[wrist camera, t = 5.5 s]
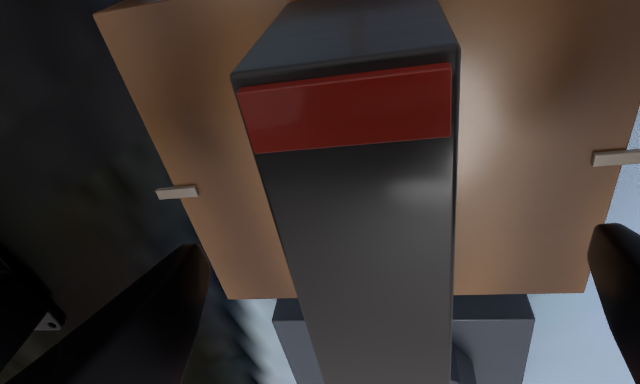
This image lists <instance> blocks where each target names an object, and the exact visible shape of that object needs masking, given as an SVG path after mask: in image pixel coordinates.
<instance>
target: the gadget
mask: <svg viewBox="0 0 640 384" xmlns="http://www.w3.org/2000/svg"><path fill="white" fill-rule="evenodd" d="M460 72H461V47H460V45H459V43H458V41H457V39H456V36H455V34H454V32H453V30H452V28H451V26H450V24H449V22H448V20H447V18H446V16H445V14H444V12H443V10H442V7H441V5H440V3H439V1H438V0H302V1H296V2H289V3H288V4H286V6H285V7H284V8H283V9H282V11H281V12H280V13H279V14H278V15H277V17H276V18H275V19H274V20H273V22H272V23H271V24H270V25H269V27H268V28H267V29H266V30H265V31H264V33H263V34H262V35H261V36H260V38H259V39H258V40H257V41H256V43H255V44H254V45H253V46H252V48H251V49H250V50H249V51H248V52H247V54H246V55H245V56H244V57H243V59H242V60H241V61H240V62H239V64H238V65H237V66H236V67H235V68H234V70H233V71H232V72H231V73H230V81H231V84H232V87H233V91H234V94H235V97H236V100H237V103H238V107H239V110H240V113H241V116H242V120H243V123H244V126H245V129H246V133H247V136H248V139H249V142H250V146H251V149H252V152H253V155H254V158H255V162H256V165H257V168H258V171H259V175H260V178H261V181H262V184H263V188H264V191H265V194H266V197H267V200H268V204H269V207H270V210H271V213H272V217H273V220H274V223H275V226H276V230H277V233H278V236H279V239H280V243H281V246H282V249H283V252H284V255H285V259H286V262H287V265H288V268H289V272H290V275H291V278H292V281H293V285H294V288H295V291H296V294H297V298H298V301H299V304H300V307H301V310H302V314H303V317H304V320H305V323H306V327H307V330H308V333H309V336H310V340H311V343H312V346H313V349H314V352H315V356H316V359H317V362H318V365H319V369H320V372H321V375H322V378H323V382H324V384H451V352H452V321H453V290H454V259H455V228H456V196H457V165H458V134H459V103H460Z"/></svg>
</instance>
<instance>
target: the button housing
mask: <svg viewBox="0 0 640 384" xmlns="http://www.w3.org/2000/svg"><path fill="white" fill-rule="evenodd" d="M534 322H535V317H534V314H533V311H532V308H531V306H530V303H529V300H528V297H527V294H491V295H453V321H452V352H451V384H522V381H523V376H524V371H525V367H526V362H527V357H528V352H529V347H530V342H531V337H532V332H533V327H534ZM272 323H273V325H274V328H275V330H276V333H277V335H278V338H279V340H280V343H281V345H282V348H283V350H284V353H285V355H286V358H287V360H288V363H289V365H290V368H291V370H292V372H293V375H294V377H295V380H296V382H297V384H324V382H323V378H322V375H321V372H320V369H319V365H318V362H317V359H316V356H315V352H314V349H313V346H312V343H311V340H310V336H309V333H308V330H307V327H306V323H305V320H304V317H303V314H302V310H301V307H300V304H299V301H298V298H277V302H276V306H275V310H274V314H273V318H272Z"/></svg>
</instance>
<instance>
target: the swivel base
mask: <svg viewBox="0 0 640 384" xmlns="http://www.w3.org/2000/svg"><path fill="white" fill-rule="evenodd" d="M296 1H302V0H123V1H121V2H119V3H117V4H114V5H112V6H110V7H108V8H105V9H103V10H101V11H98V12H96V13H94V14H93V18H94V20H95V22H96V24H97V26H98V28H99V30H100V32H101V34H102V36H103V39H104V41H105V43H106V45H107V47H108V49H109V51H110V53H111V55H112V57H113V59H114V62H115V64H116V66H117V68H118V70H119V72H120V74H121V76H122V78H123V80H124V82H125V85H126V87H127V89H128V91H129V93H130V95H131V97H132V99H133V101H134V103H135V105H136V108H137V110H138V112H139V114H140V116H141V118H142V120H143V122H144V124H145V126H146V128H147V131H148V133H149V135H150V137H151V139H152V141H153V143H154V145H155V147H156V149H157V151H158V154H159V156H160V158H161V160H162V162H163V164H164V166H165V168H166V170H167V172H168V174H169V177H170V179H171V181H172V183H173V185H174V187H167V188H157V189H156V191H155V192H156V194H157V196H158V197H159V199H173V198H180V200H181V202H182V204H183V206H184V208H185V210H186V212H187V214H188V216H189V218H190V220H191V223H192V225H193V227H194V229H195V231H196V233H197V235H198V237H199V239H200V241H201V243H202V246H203V248H204V250H205V252H206V254H207V256H208V258H209V260H210V262H211V264H212V266H213V269H214V271H215V273H216V275H217V277H218V279H219V281H220V283H221V285H222V287H223V289H224V292H225V294H226V296H227V298H228V299H273V298H297V294H296V291H295V288H294V285H293V281H292V278H291V275H290V272H289V268H288V265H287V262H286V259H285V255H284V252H283V249H282V246H281V243H280V239H279V236H278V233H277V230H276V226H275V223H274V220H273V217H272V213H271V210H270V207H269V204H268V200H267V197H266V194H265V191H264V188H263V184H262V181H261V178H260V175H259V171H258V168H257V165H256V162H255V158H254V155H253V152H252V149H251V146H250V142H249V139H248V136H247V133H246V129H245V126H244V123H243V120H242V116H241V113H240V110H239V107H238V103H237V100H236V97H235V94H234V91H233V87H232V84H231V81H230V73H231V72H232V71H233V70H234V68H235V67H236V66H237V65H238V64H239V62H240V61H241V60H242V59H243V57H244V56H245V55H246V54H247V52H248V51H249V50H250V49H251V48H252V46H253V45H254V44H255V43H256V41H257V40H258V39H259V38H260V36H261V35H262V34H263V33H264V31H265V30H266V29H267V28H268V27H269V25H270V24H271V23H272V22H273V20H274V19H275V18H276V17H277V15H278V14H279V13H280V12H281V11H282V9H283V8H284V7H285V6H286V4H288V3H289V2H296ZM438 1H439V3H440V5H441V7H442V10H443V12H444V14H445V16H446V18H447V20H448V22H449V24H450V26H451V28H452V30H453V32H454V34H455V36H456V39H457V41H458V43H459V45H460V47H461V72H460V103H459V134H458V165H457V196H456V228H455V259H454V290H453V295H491V294H545V293H584V291H585V287H586V284H587V281H588V277H589V274H590V271H591V270H590V267H589V264H588V260H587V252H588V248H589V244H590V241H591V237H592V234H593V230H594V228H595V226H596V225H598V224H604V223H605V220H606V217H607V213H608V210H609V207H610V203H611V200H612V196H613V193H614V190H615V186H616V183H617V180H618V176H619V173H620V170H621V166H622V165H624V164H637V163H640V149H632V150H626V149H627V146H628V143H629V139H630V136H631V133H632V129H633V126H634V122H635V119H636V116H637V112H638V109H639V106H640V0H438Z"/></svg>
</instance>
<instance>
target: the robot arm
mask: <svg viewBox="0 0 640 384" xmlns="http://www.w3.org/2000/svg"><path fill="white" fill-rule="evenodd" d="M587 260H588V264H589V267H590V270H591V273H592V276H593V279H594V282H595V286H596V289H597V292H598V295H599V298H600V301H601V304H602V307H603V310H604V313H605V316H606V319H607V321H608V324H609V327H610V330H611V332H612V334H613V336H614V339H615V341H616V343H617V345H618V347H619V349H620V351H621V354H622V356H623V358H624V360H625V362H626V364H627V366H628V368H629V371H630V373H631V375H632V377H633V379H634V381H635V383H636V384H640V235H639V234H637V233H635V232H634V231H632V230H630V229H629V228H627V227H625V226H624V225H622V224H619V223H608V224H598V225H596V226H595V228H594V230H593V234H592V237H591V241H590V244H589V248H588V252H587ZM210 276H211V267H210V264H209V262H208V260H207V258H206V256H205V253H204V251H203V249H202V247H201V246H200V245H199V244H197V243H192V244H183V245H181V246H180V247H178V248H177V249H176V250H175V251H173V252H172V253H171V254H169V255H168V256H167V257H166V258H164V259H163V260H162V261H161V262H159V263H158V264H157V265H156V266H154V267H153V268H152V269H151V270H149V271H148V272H147V273H145V274H144V275H143V276H142V277H140V278H139V279H138V280H137V281H135V282H134V283H133V284H132V285H130V286H129V287H128V288H127V289H125V290H124V291H123V292H121V293H120V294H119V295H118V296H116V297H115V298H114V299H113V300H111V301H110V302H109V303H108V304H106V305H105V306H104V307H102V308H101V309H100V310H99V311H97V312H96V313H95V314H94V315H92V316H91V317H90V318H89V319H87V320H86V321H85V322H84V323H82V324H81V325H80V326H78V327H77V328H76V329H75V330H73V331H72V332H71V333H70V334H68V335H67V336H66V337H65V338H63V339H62V340H61V341H60V342H59V344H56V345H54V346H53V347H52V348H51V349H49V350H48V351H47V352H46V353H44V354H43V355H42V356H40V357H39V358H38V359H37V360H35V361H34V362H33V363H31V364H30V365H29V366H27V367H26V368H25V369H24V370H22V371H21V372H20V373H18V374H17V375H16V376H14V377H13V378H11V379H10V380H9V381H7V382H6V383H5V384H181V382H182V379H183V376H184V373H185V370H186V367H187V364H188V361H189V358H190V355H191V352H192V349H193V346H194V343H195V340H196V337H197V334H198V330H199V327H200V323H201V318H202V314H203V309H204V304H205V300H206V295H207V290H208V286H209V281H210ZM64 323H65V320H64V319H63V317H62V316H61V315H60V314H59V313H58V312H57V311H56V310H55V308H54V307H53V306H52V305H51V304H50V303H49V302H48V300H47V299H46V298H45V297H44V296H43V295H42V294H41V292H40V291H39V290H38V289H37V288H36V287H35V286H34V284H33V283H32V282H31V281H30V280H29V279H28V278H27V276H26V275H25V274H24V273H23V272H22V271H21V270H20V268H19V267H18V266H17V265H16V264H15V263H14V262H13V260H12V259H11V258H10V257H9V256H8V255H7V254H6V252H5V251H4V250H3V249H2V248H1V247H0V373H1V372H2V370H3V369H4V368H5V366H6V365H7V364H8V363H9V361H10V360H11V359H12V358H13V356H14V355H15V354H16V352H17V351H18V350H19V349H20V347H21V346H22V345H23V344H24V342H25V341H26V340H27V338H28V337H29V336H30V335H31V333H32V332H33V331H34V330H60V329H61V328H62V326H63V325H64Z"/></svg>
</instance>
